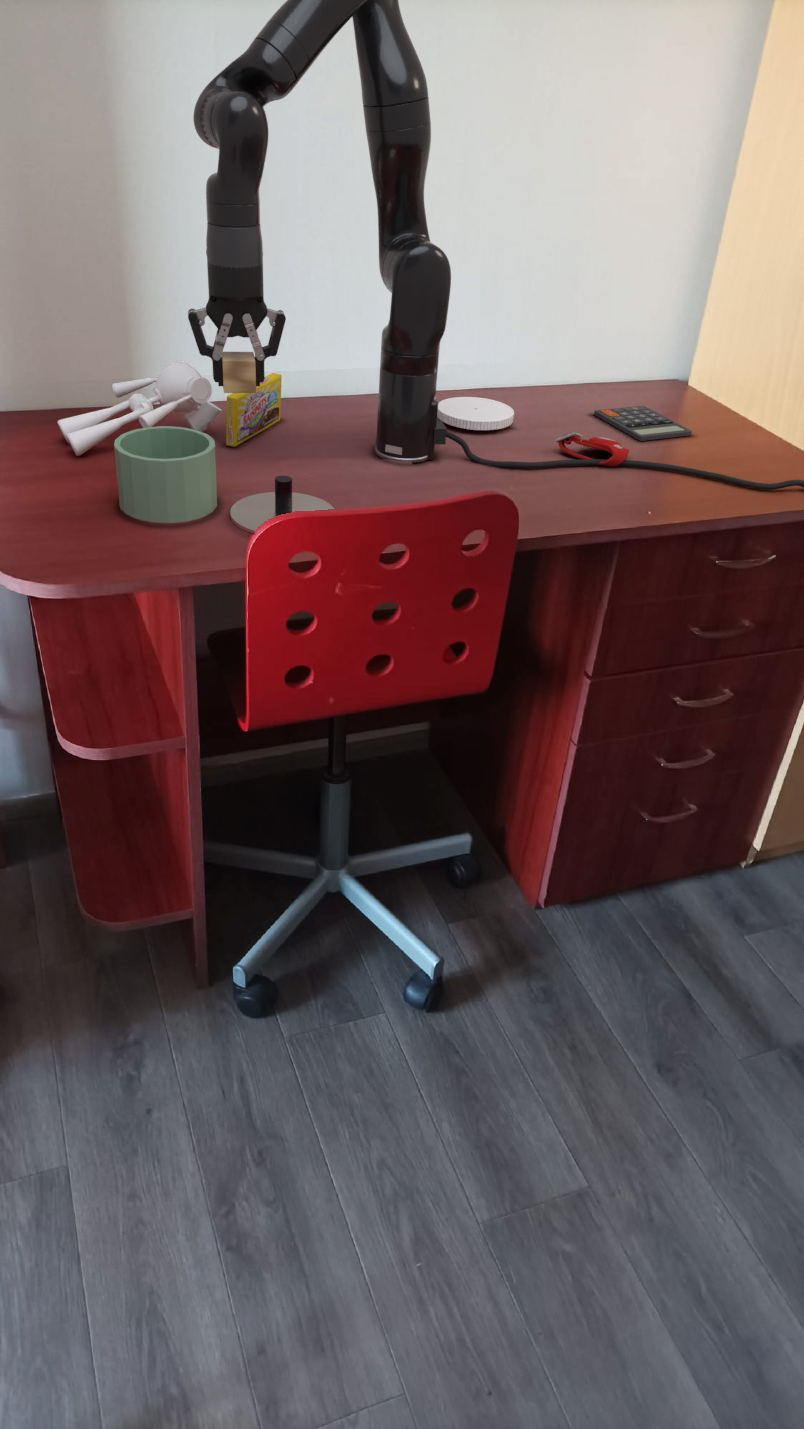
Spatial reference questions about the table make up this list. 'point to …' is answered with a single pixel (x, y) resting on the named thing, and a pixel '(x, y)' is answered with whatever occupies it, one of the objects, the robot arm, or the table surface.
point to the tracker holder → (597, 443)
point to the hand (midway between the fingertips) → (239, 384)
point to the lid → (273, 505)
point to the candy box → (253, 410)
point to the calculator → (642, 423)
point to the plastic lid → (475, 413)
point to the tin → (166, 474)
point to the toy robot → (146, 406)
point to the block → (239, 372)
